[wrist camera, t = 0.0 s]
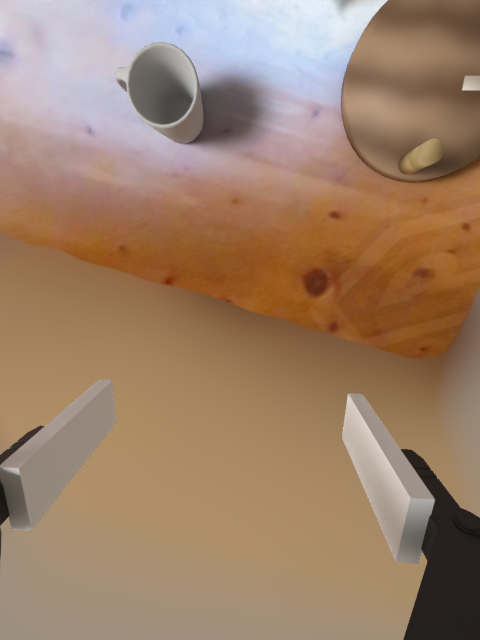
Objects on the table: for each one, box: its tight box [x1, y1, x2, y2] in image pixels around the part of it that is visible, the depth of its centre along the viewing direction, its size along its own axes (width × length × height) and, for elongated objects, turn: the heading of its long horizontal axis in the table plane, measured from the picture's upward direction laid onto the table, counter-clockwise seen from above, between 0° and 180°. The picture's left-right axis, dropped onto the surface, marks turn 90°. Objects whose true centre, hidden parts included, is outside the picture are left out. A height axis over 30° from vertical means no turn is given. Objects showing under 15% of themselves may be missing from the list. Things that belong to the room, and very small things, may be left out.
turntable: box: [341, 0, 480, 182], centre depth 32 cm, size 20×20×7 cm
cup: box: [115, 42, 204, 144], centre depth 34 cm, size 8×10×8 cm
